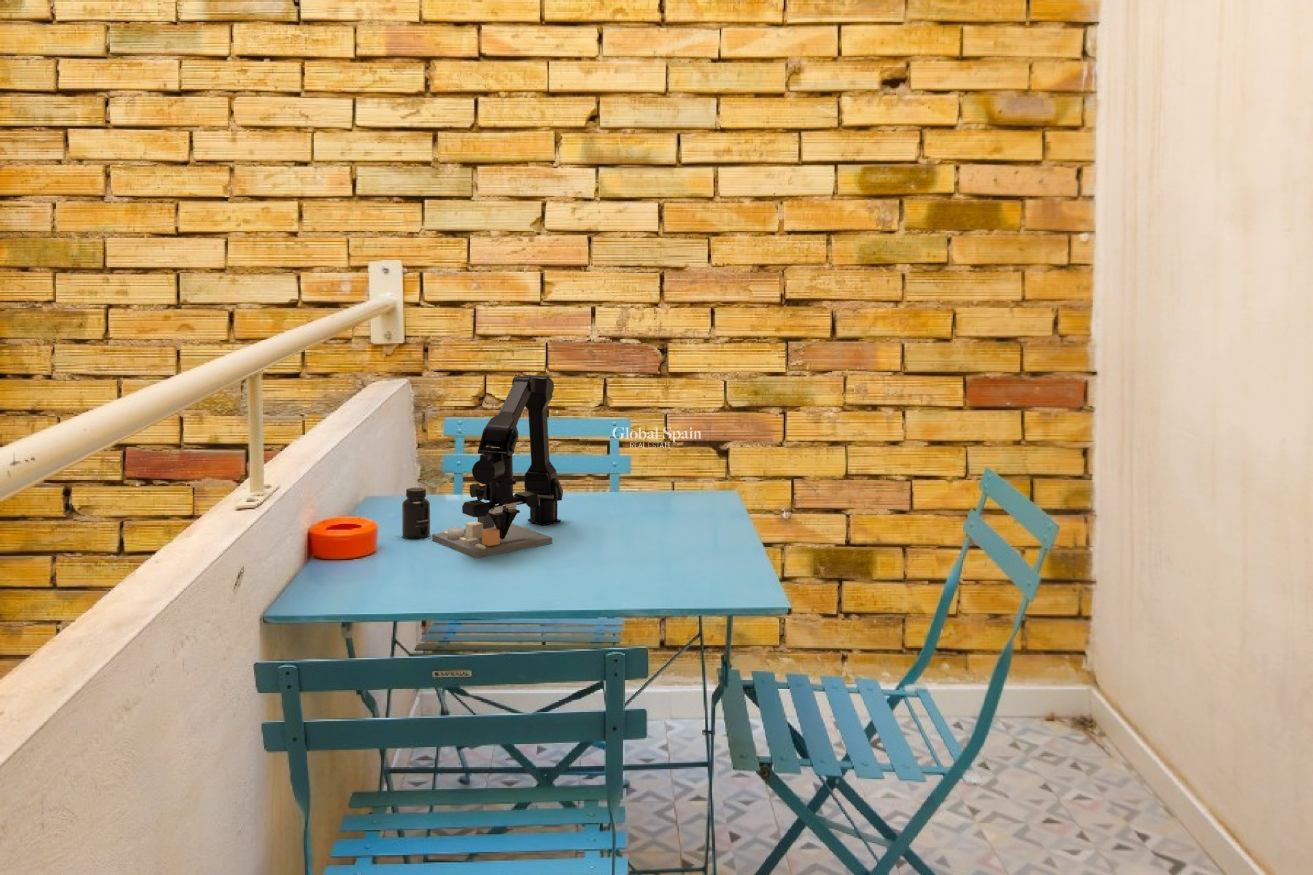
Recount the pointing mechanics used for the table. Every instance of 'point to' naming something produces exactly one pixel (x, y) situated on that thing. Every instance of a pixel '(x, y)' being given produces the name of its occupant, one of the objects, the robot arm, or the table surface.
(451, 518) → the table surface
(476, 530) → the ivory slider
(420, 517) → the supplement bottle
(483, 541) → the orange slider
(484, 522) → the dark brown slider
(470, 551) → the control board
